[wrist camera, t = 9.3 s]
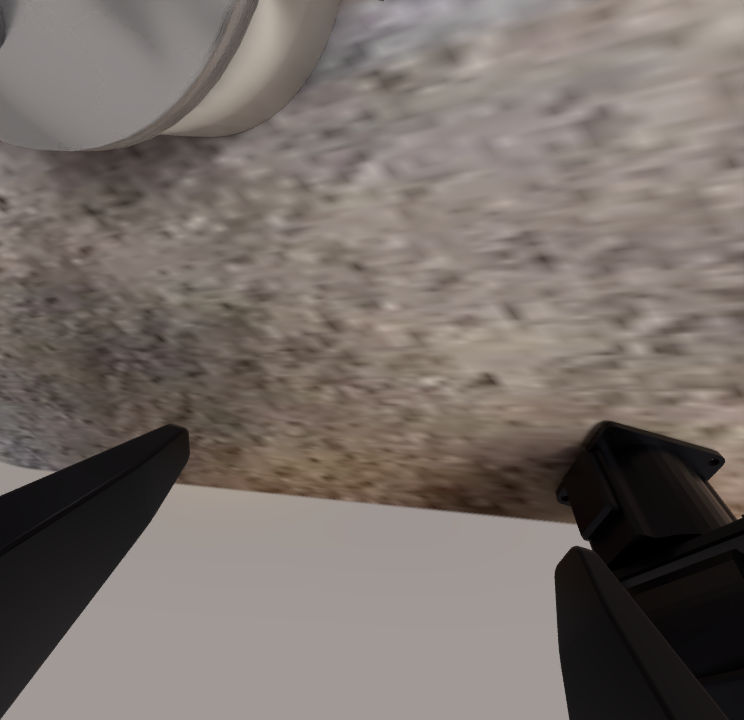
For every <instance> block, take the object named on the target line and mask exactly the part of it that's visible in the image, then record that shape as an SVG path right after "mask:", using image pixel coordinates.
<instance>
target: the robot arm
mask: <svg viewBox="0 0 744 720" xmlns="http://www.w3.org/2000/svg"><path fill="white" fill-rule="evenodd" d="M611 430H614V431H613V432H611V433H608V432H609V431H611ZM189 455H190V447H189V433H188V430H187V429H186V428H184V427H181V426H178V425H174V424H168V425H165V426H162V427H160V428H158V429H155V430H153V431H151V432H148V433H146V434H144V435H141V436H139V437H137V438H134V439H132V440H130V441H127V442H125V443H123V444H120V445H118V446H116V447H113V448H111V449H109V450H106V451H104V452H102V453H99V454H97V455H95V456H92V457H90V458H88V459H85V460H83V461H81V462H78V463H76V464H74V465H71V466H69V467H67V468H64V469H62V470H60V471H57V472H55V473H53V474H51V475H48V476H46V477H43V478H41V479H39V480H36V481H34V482H32V483H29V484H27V485H25V486H22V487H20V488H18V489H15V490H13V491H11V492H8V493H6V494H4V495H1V496H0V719H1V718H2V717H3V715H4V714H5V713H6V711H7V710H8V709H9V707H10V706H11V705H12V704H13V702H14V701H15V700H16V698H17V697H18V696H19V694H20V693H21V692H22V690H23V689H24V688H25V686H26V685H27V684H28V683H29V681H30V680H31V679H32V677H33V676H34V675H35V673H36V672H37V671H38V669H39V668H40V667H41V665H42V664H43V663H44V661H45V660H46V659H47V658H48V656H49V655H50V654H51V652H52V651H53V650H54V648H55V647H56V646H57V644H58V643H59V642H60V640H61V639H62V638H63V636H64V635H65V634H66V633H67V631H68V630H69V629H70V627H71V626H72V624H73V623H74V622H75V621H76V619H77V618H78V617H79V615H80V614H81V613H82V612H83V610H84V609H85V608H86V606H87V605H88V604H89V602H90V601H91V600H92V598H93V597H94V596H95V594H96V593H97V592H98V590H99V589H100V588H101V587H102V585H103V584H104V583H105V581H106V580H107V579H108V577H109V576H110V575H111V573H112V572H113V571H114V569H115V568H116V567H117V565H118V564H119V563H120V562H121V560H122V559H123V558H124V556H125V555H126V554H127V552H128V551H129V550H130V548H131V547H132V546H133V544H134V543H135V542H136V541H137V539H138V538H139V536H140V535H141V534H142V533H143V531H144V530H145V528H146V527H147V526H148V524H149V523H150V522H151V520H152V518H153V517H154V515H155V514H156V512H157V511H158V509H159V507H160V506H161V504H162V503H163V501H164V499H165V498H166V496H167V494H168V493H169V491H170V490H171V488H172V486H173V485H174V483H175V481H176V480H177V478H178V476H179V475H180V473H181V472H182V470H183V468H184V467H185V465H186V463H187V461H188V459H189ZM712 459H713V460H712ZM724 463H725V459H724V458H723V457H722V456H721V454H720V453H719V452H717V451H714V450H711V449H707V448H704V447H700V446H697V445H693V444H689V443H686V442H682V441H679V440H675V439H672V438H668V437H665V436H661V435H657V434H654V433H650V432H647V431H643V430H640V429H636V428H632V427H629V426H625V425H622V424H618V423H615V422H608V423H605V424H603V425H602V426H601V427H600V429H599V430H598V432H597V433H596V434H595V436H594V437H593V439H592V440H591V442H590V443H589V445H588V446H587V447H586V449H585V450H584V451H583V452H581V454H580V455H579V457H578V458H577V459H576V461H575V462H574V464H573V465H572V467H571V468H570V470H569V471H568V473H567V474H566V475H565V477H564V478H563V482H562V484H561V485H560V486H559V488H558V489H557V491H556V493H555V494H556V498H557V501H558V502H559V503H561V504H565V505H568V506H571V507H572V510H573V513H574V516H575V519H576V522H577V525H578V528H579V531H580V534H581V536H582V537H583V539H584V540H586V541H589V542H590V545H591V548H592V550H589V549H586V548H583V547H579V546H574V547H572V548H571V549H570V550H569V551H568V552H567V554H566V555H565V556H564V557H563V559H562V560H561V561H560V562H559V564H558V565H557V567H556V570H555V593H556V611H557V628H558V643H559V654H560V662H561V669H562V675H563V682H564V688H565V694H566V701H567V707H568V713H569V720H744V515H742V517H743V518H741V519H738V520H737V519H736V517H735V516H734V515H733V513H732V512H731V511H730V509H729V508H728V507H727V506H726V504H725V503H724V502H723V500H722V499H721V498H720V496H719V495H718V494H717V493H716V491H715V490H714V489H713V487H712V486H711V485H710V483H709V482H708V480H709V479H710V478H711V477H712V476H713V475H714V474H715V473H716V472H717V471H718V470H719V469H720V468H721V467H722V466H723V465H724Z"/></svg>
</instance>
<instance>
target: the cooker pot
mask: <svg viewBox="0 0 744 720" xmlns="http://www.w3.org/2000/svg"><path fill="white" fill-rule="evenodd" d="M340 1H341V0H259V2H258V5H257V8H256V10H255V12H254V14H253V17H252V19H251V21H250V24H249V26H248V28H247V30H246V33H245V35H244V37H243V40H242V42H241V44H240V46H239V48H238V50H237V51H236V53H235V55H234V56H233V58H232V60H231V61H230V63H229V65H228V66H227V68H226V70H225V71H224V73H223V75H222V76H221V78H220V79H219V81H218V82H217V83H216V84H215V85H214V87H213V88H212V89H211V90H210V92H209V93H208V94H207V95H206V96H205V98H204V99H203V100H202V101H201V102H200V104H199V105H198V106H197V107H195V108H194V109H193V110H192V111H191V112H190V113H188V114H187V115H186V116H185V117H184V118H183V119H181V120H180V121H179V122H178V123H177V124H176V125H174V126H172V127H171V128H169V129H167V130H165V131H164V132H162V133H160V134H159V135H176V136H194V137H221V136H227V135H233V134H237V133H240V132H243V131H246V130H249V129H251V128H253V127H255V126H257V125H259V124H261V123H263V122H264V121H266V120H268V119H269V118H271V117H272V116H273V115H274V114H276V113H277V112H278V111H280V110H281V109H282V108H283V107H285V105H286V104H287V103H288V102H289V101H290V100H291V99H292V98H293V97H294V96H295V95H296V94H297V93H298V92H299V90H300V89H301V87H302V86H303V85H304V83H305V82H306V80H307V79H308V77H309V76H310V75H311V73H312V72H313V70H314V68H315V66H316V64H317V62H318V60H319V58H320V57H321V55H322V53H323V51H324V49H325V46H326V44H327V41H328V38H329V36H330V33H331V31H332V28H333V26H334V23H335V19H336V16H337V12H338V8H339V5H340ZM380 1H384V0H380Z"/></svg>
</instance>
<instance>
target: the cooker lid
mask: <svg viewBox="0 0 744 720" xmlns="http://www.w3.org/2000/svg"><path fill="white" fill-rule="evenodd" d="M258 2H259V0H0V141H1V142H4V143H7V144H11V145H16V146H21V147H26V148H31V149H36V150H52V151H105V150H112V149H119V148H125V147H129V146H132V145H135V144H138V143H140V142H143V141H146V140H149V139H152V138H153V137H155V136H157V135H159V134H160V133H162V132H164V131H165V130H167V129H169V128H171V127H172V126H174V125H176V124H177V123H178V122H179V121H180V120H181V119H183V118H184V117H185V116H186V115H187V114H188V113H190V112H191V111H192V110H193V109H194V108H195V107H197V106H198V105H199V104H200V102H201V101H202V100H203V99H204V98H205V96H206V95H207V94H208V93H209V92H210V90H211V89H212V88H213V87H214V85H215V84H216V83H217V82H218V81H219V79H220V78H221V76H222V75H223V73H224V71H225V70H226V68H227V66H228V65H229V63H230V61H231V60H232V58H233V56H234V55H235V53H236V51H237V50H238V48H239V46H240V44H241V42H242V40H243V37H244V35H245V33H246V30H247V28H248V26H249V24H250V21H251V19H252V17H253V14H254V12H255V10H256V8H257V5H258Z"/></svg>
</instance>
